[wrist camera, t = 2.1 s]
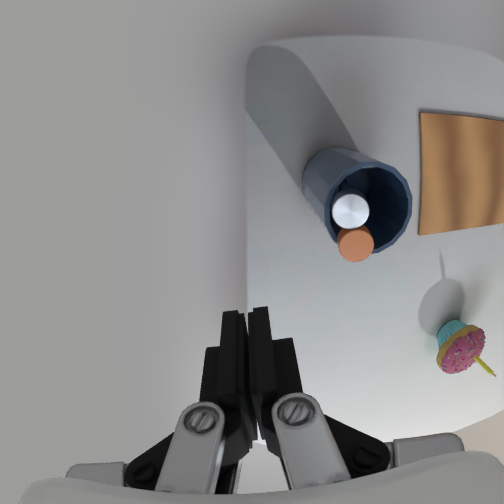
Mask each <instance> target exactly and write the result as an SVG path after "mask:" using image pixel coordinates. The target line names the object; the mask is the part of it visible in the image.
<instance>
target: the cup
mask: <svg viewBox="0 0 504 504" xmlns="http://www.w3.org/2000/svg"><path fill="white" fill-rule="evenodd" d="M345 177H346V180H347V182H348V185H349V188H352V189H356V190H358V191H360V192H361V193H362V194H363V195H364V197H365V199H366V201H367V203H368V206H369V216H368V218H367V220H366V222H365V223H364V224H363V225H364V226H365V227H367V228H368V230H369V231H370V234H371V236H372V238H373V241H374V248H373V251H372V253H371V254H374V253H379V252H381V251H382V250H384V249H386V248H388V247H390V246H391V245H393V244H394V243H395V242H396V241H397V240H398V238H399V237H400V236H401V235H402V234H403V233H404V232H405V230H406V227H407V225H408V222H409V220H410V217H411V214H412V195H411V192H410V189H409V186H408V183H407V181H406V179H405V178H404V177H403V176H402V175H401V174H400V173H399V172H398V170H397V169H396V168H394V167H392V166H390V165H387V164H385V163H383V162H380V161H378V160H376V159H373V158H371V157H368V156H366V155H363V154H361V153H358V152H356V151H353V150H350V149H348V148H345V147H331V148H327V149H324V150H322V151H320V152H319V153H317V154H316V155H315V156H313V158H312V159H311V160H310V161H309V162H308V164H307V166H306V168H305V170H304V173H303V178H302V187H303V192H304V196H305V198H306V200H307V201H308V203H309V205H310V207H311V208H312V210H313V211H314V213H315V214H316V216H317V217H318V219H319V220H320V222H321V223H322V225H323V226H324V228H325V229H326V231H327V232H328V234H329V236H330V237H331V239H332V240H333V241H334V242H335V243H336V244H337V236H338V234H339V232H340V230H341V229H342V228H343V227H341V226H339V225H338V224H337V223H336V222H335V221H334V219H333V216H332V211H331V201H332V199H333V197H334V195H335V194H336V193H337V192H339V189H338V186H339V185H340V183H341V182H342V181H343V180H344V179H345ZM337 245H338V244H337Z"/></svg>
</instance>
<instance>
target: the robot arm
mask: <svg viewBox="0 0 504 504" xmlns="http://www.w3.org/2000/svg"><path fill="white" fill-rule="evenodd" d="M257 422H258V426H259V430H260V434H261V438H262V440H264V439H265V440H266V444H267V448H268V451H270V452H271V453H273V454H274V455H276V456H278V457H279V458H280V462H281V466H282V469H283V472H284V476H285V479H286V483H287V486H288V489H289V490H287V491H278V492H267V493H253V494H237V489H238V483H239V478H240V472H241V467H242V458H243V457H244V456H245V455H246V454H247V453H248V452H249V449H250V448H252V441H253V440H257V439H258V435H257ZM19 504H504V466H503V464H502V463H501V462H500V461H499V460H498V459H497V458H496V457H495V456H493V455H492V454H490V453H487V452H483V451H465V450H464V445H463V443H462V440H461V438H459V437H458V436H457V435H456V434H452V433H440V434H434V435H427V436H420V437H412V438H404V439H394V440H393V442H386V443H383V442H382V441H380V440H378V439H376V438H373V437H371V436H369V435H367V434H365V433H362V432H360V431H358V430H356V429H354V428H351V427H349V426H347V425H345V424H343V423H341V422H339V421H337V420H335V419H333V418H331V417H329V416H327V415H325V414H323V412H322V410H321V407H320V405H319V403H318V402H317V400H316V399H315V398H313V397H312V396H310V395H307V394H305V393H303V390H302V384H301V379H300V374H299V369H298V364H297V359H296V353H295V348H294V343H293V339H292V338H285V339H278V340H272V335H271V328H270V321H269V313H268V306H266V307H258V308H253V312H249V313H248V332H247V327H246V321H245V316H244V313H242V314H239V313H238V310H234V311H225V312H223V316H222V328H221V339H220V346H217V347H207V349H206V352H205V360H204V367H203V375H202V383H201V391H200V399H199V402H197V403H194V404H192V405H190V406H188V407H187V408H186V409H185V410H184V411H183V412H182V414H181V415H180V417H179V420H178V424H177V426H176V429H175V432H173V433H172V434H170V435H169V436H168V437H166V438H165V439H163V440H162V441H160V442H159V443H158V444H156V445H155V446H153V447H152V448H150V449H149V450H147V451H146V452H145V453H143V454H142V455H140V456H138V457H137V458H135V459H134V460H133V461H132V462H130V463H128V464H125V463H124V462H112V463H92V464H77V465H74V466H72V467H70V469H69V470H68V471H67V474H66V477H65V478H49V479H44V480H40V481H37V482H34V483H32V484H31V485H30V486H29V487H28V488H27V489H26V490H25V492H24V493H23V495H22V497H21V499H20V501H19Z"/></svg>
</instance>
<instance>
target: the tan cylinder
mask: <svg viewBox="0 0 504 504" xmlns="http://www.w3.org/2000/svg"><path fill="white" fill-rule="evenodd" d="M337 244H338V248H339V252H340V254H341V256H342V257H343V258H345V259H346V260H348V261H351V262H359V261H362V260H364V259H366V258H367V257H368V256H369V255H370V254H371V253H372V251H373V248H374V241H373V238H372V236H371V234H370V231H369V230H368V228H367V227H365V226H364V225H361V226H360V227H358V228H354V229H346V228H342V229H341V230H340V232H339V234H338V236H337Z"/></svg>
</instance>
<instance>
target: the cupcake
mask: <svg viewBox="0 0 504 504" xmlns="http://www.w3.org/2000/svg"><path fill="white" fill-rule="evenodd" d="M484 339H485V335H484V331H483V330H482V329H481V328H478V327H476V326H474V325H467V324H464V323H462V322H461V321H459V320H452V321H449V322H448V323H446V324H445V325H444V326H443V327H442V328H441V329H440V331H439V333H438V335H437V341H438V345H439V352H438V355H437V358H436V359H437V364H438V366H439V367H440V368H441V369H442V370H443V371H444V372H446V373H450V374H453V373H458V372H461V371H463V370H466V369H467V368H468V367H471V365H472V364H473V363H474V362H476V361H477V362H478V363H479V364H480V365H481V366H482V367H483V368H484V369H485V370H486V371H487V372H488V373H489V374H490V375H494V376H495V377H496V375H495V374H493V373H494V372H493V371H492V370H491V369H490V368H489V367H488V366H487V365H486V364H485V363H484V362H483V361H482V360H481V359H480V358H479V356H480V354H481V352H482V349H483V347H484V342H485V341H484Z"/></svg>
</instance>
